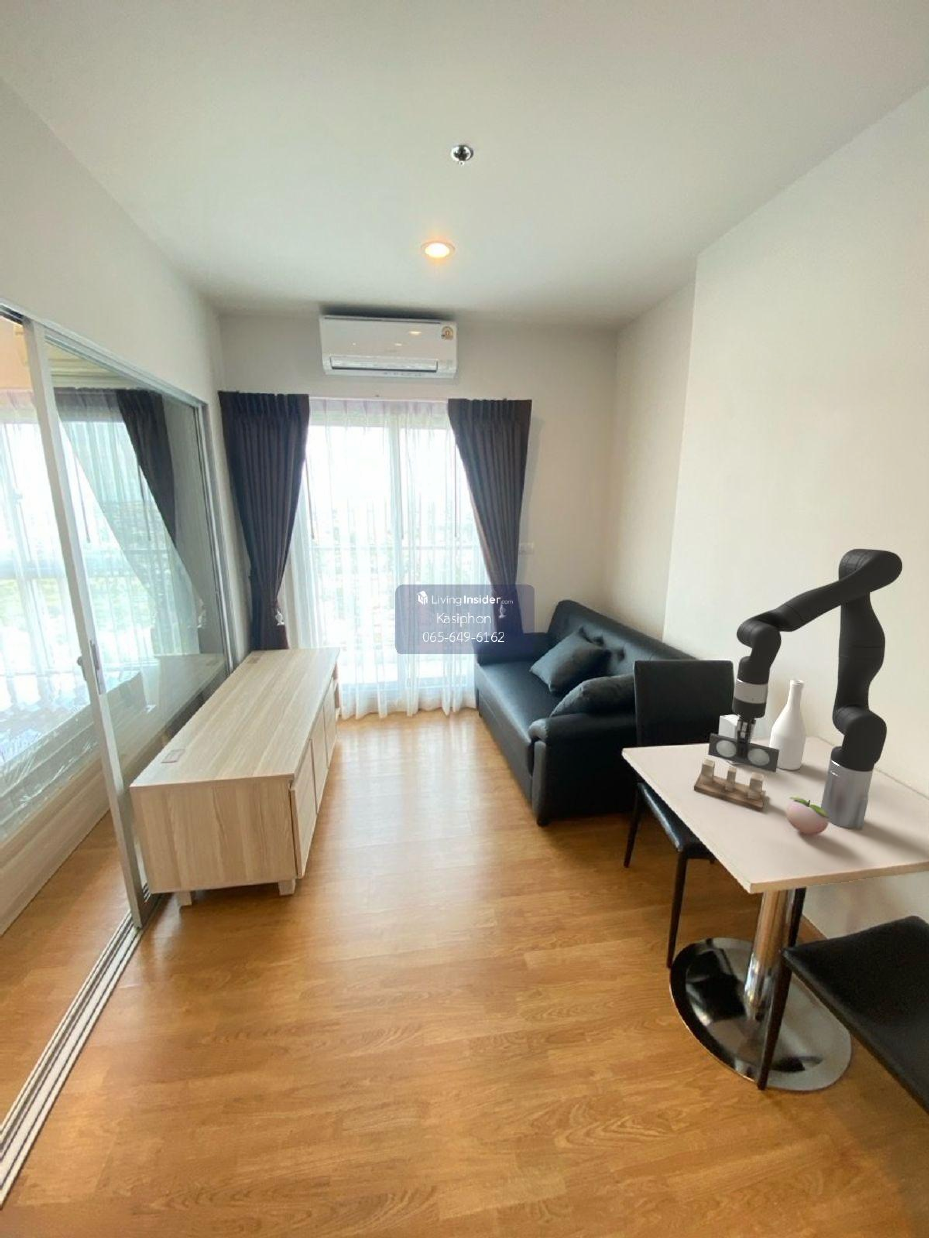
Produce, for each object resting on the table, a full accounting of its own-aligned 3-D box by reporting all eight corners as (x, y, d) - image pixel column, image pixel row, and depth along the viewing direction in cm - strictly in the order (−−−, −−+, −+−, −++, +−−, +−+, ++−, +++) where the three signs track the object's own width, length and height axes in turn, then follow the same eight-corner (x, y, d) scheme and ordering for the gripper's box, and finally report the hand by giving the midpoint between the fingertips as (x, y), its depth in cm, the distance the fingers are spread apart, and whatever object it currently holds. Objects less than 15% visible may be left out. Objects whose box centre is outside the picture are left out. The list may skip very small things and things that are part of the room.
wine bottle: (761, 760, 163) (774, 678, 156) (777, 753, 167) (790, 674, 160) (790, 773, 155) (805, 688, 148) (806, 766, 159) (821, 682, 152)
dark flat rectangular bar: (776, 770, 124) (779, 749, 122) (775, 772, 123) (778, 752, 121) (709, 752, 133) (711, 733, 132) (708, 754, 132) (710, 735, 131)
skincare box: (747, 764, 161) (752, 724, 157) (730, 765, 160) (736, 725, 157) (730, 751, 169) (735, 713, 165) (714, 753, 168) (719, 714, 165)
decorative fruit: (777, 830, 128) (782, 797, 126) (789, 818, 133) (794, 786, 130) (818, 849, 121) (825, 815, 118) (829, 836, 125) (835, 803, 123)
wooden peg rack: (765, 795, 143) (769, 771, 142) (761, 811, 136) (765, 787, 134) (700, 775, 154) (703, 753, 152) (693, 790, 146) (696, 766, 144)
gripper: (764, 708, 116) (755, 771, 120) (769, 691, 127) (761, 750, 131) (729, 701, 121) (722, 762, 125) (737, 685, 131) (730, 742, 135)
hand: (742, 755), depth 128 cm, fingers closed on dark flat rectangular bar, 1 cm apart
